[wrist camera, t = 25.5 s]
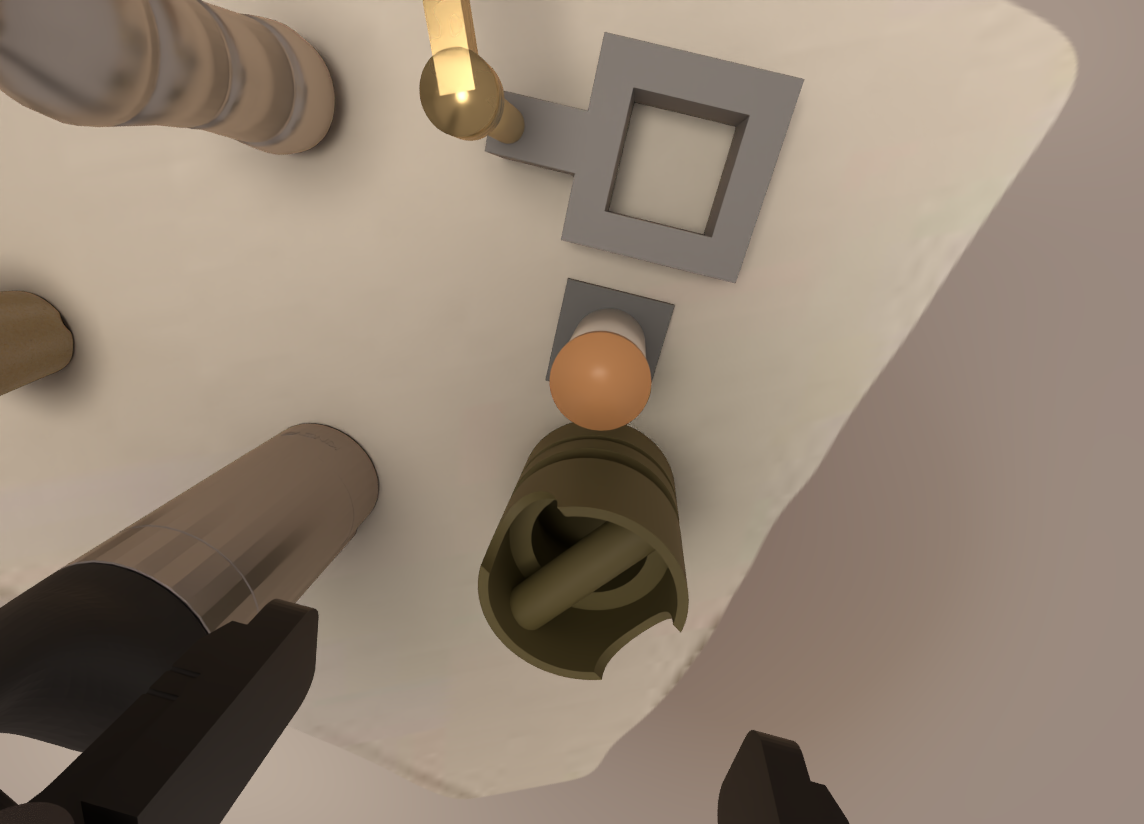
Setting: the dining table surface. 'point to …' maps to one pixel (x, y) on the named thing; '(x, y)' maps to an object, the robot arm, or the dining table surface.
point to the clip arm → (458, 75)
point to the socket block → (599, 137)
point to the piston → (585, 551)
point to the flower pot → (30, 340)
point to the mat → (593, 297)
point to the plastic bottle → (166, 69)
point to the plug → (602, 372)
